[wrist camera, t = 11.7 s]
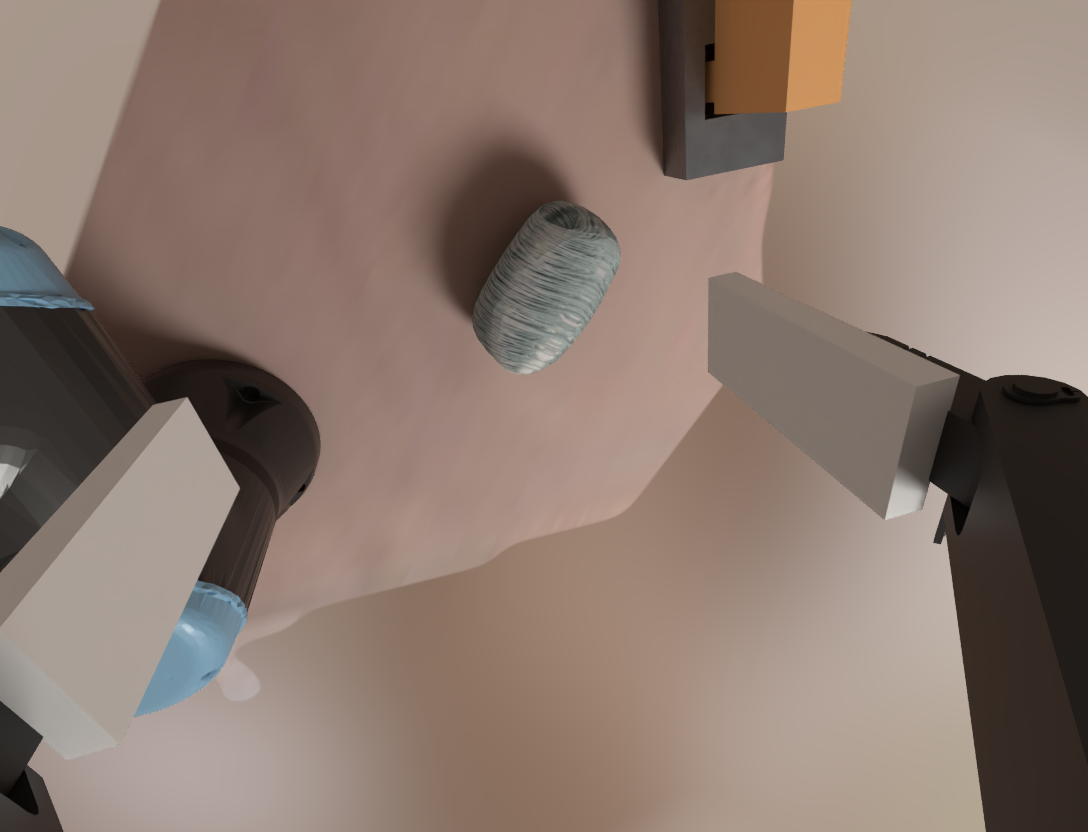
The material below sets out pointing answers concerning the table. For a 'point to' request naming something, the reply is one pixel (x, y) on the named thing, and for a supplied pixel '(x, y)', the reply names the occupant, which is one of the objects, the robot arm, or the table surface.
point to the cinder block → (686, 130)
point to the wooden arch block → (777, 55)
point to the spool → (545, 287)
